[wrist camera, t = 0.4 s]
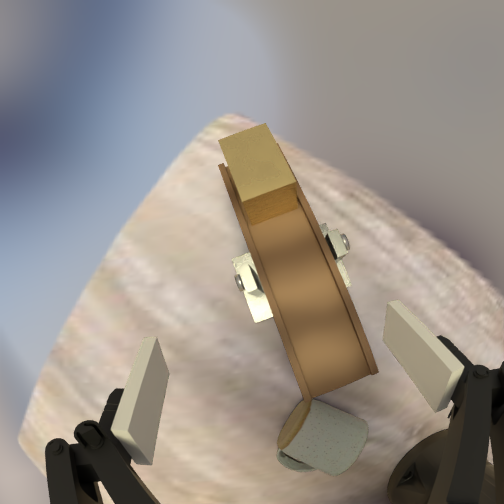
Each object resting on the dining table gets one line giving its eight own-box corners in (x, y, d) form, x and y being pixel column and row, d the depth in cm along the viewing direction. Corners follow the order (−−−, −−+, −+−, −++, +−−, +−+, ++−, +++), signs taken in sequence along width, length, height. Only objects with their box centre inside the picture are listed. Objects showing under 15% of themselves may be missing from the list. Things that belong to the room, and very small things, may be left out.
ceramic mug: (305, 386, 32) (308, 407, 24) (361, 411, 30) (377, 436, 23) (261, 451, 31) (254, 482, 23) (316, 473, 29) (320, 506, 22)
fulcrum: (372, 346, 32) (399, 358, 23) (278, 384, 32) (275, 409, 23) (299, 170, 37) (301, 130, 28) (212, 202, 37) (191, 171, 29)
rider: (297, 208, 27) (296, 181, 23) (252, 226, 28) (242, 201, 23) (271, 154, 30) (265, 123, 25) (230, 169, 30) (218, 140, 25)
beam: (372, 369, 23) (378, 372, 21) (304, 397, 24) (305, 402, 21) (279, 156, 31) (277, 143, 29) (223, 177, 32) (218, 165, 29)
